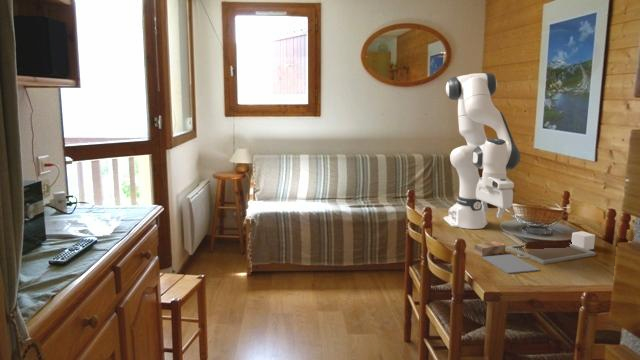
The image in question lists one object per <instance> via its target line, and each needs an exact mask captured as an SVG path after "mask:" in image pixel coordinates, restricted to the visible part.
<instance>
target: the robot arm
mask: <svg viewBox="0 0 640 360" xmlns="http://www.w3.org/2000/svg"><path fill="white" fill-rule="evenodd" d="M497 87H498V81H497V79H496V76H495V74H493V73H492V72H484V73H483V72H482V73H480V72H479V73H469V74H463V75H459V76H453V77H450V78H449V79H447V81H446V85H445V93H446V95H447V97H448V99H449V100H453V101H457V102H458V103H457V119H458V121H457V122H458V132H459V135H460V136H461V137H463V138H464V139H465V141H466V145H461V146H458V147H456V148H454V149H452V151H451V152H450V155H449V160H450V163H451V165H452V167H454V168H455V170H456V172H457V175H458V178H459V179H458V180H459V193H458V194H459V195H457V196H456V203H455V204H453V205H452V206H451V207H449V209H448V211H447V212H448V215H446V216H444V217H443V220H444V221H445V222H447V223H448V225H449V226H450V227H454V228H461V229H468V230H469V229H470V230H473V229H474V230H477V229H478V230H480V229H483V228H485V227H486V226H487V225H488V224H489V223H488V221H487V217H486V213H489V209H490V208H489V206H488V204H490V205H493V206H495V207H497V212H496V213H495V217H496V218H497V219H502V218H503V214H504V211H505V210H506V209H507V210H508V209H511V208H512V206H513V202H514V201H513V200H514V191H513V189H514V188H515V183H514V182H513V181H512V180H511V179H510V178H509V177H508V176H507V170H510V171H511V170H514V169H515V168H516V167H517V166H518V165H519V164H520V162H521V152H520V150H519V148H518V147H517V145H516V143H515V141H514V139H513V136H512V133H511V130H510V128H509V125H508V123H507V121H506V118H505V116H504V114H503V112H502V111H501V110H499V109H498V108H497V107H496V106H495V105H494V103H493V101H492V97H491V96H493V95H494V94H495V93H496V91H497ZM485 126H487V127H490V128H491V129H493V130H494V131H495V132H496V136H497V137H495V138H494V137H491V138H488V137H487V135H486V132H485ZM479 169H481V170H482V176H481V177H480V174H479Z"/></svg>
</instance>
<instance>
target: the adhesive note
mask: <svg viewBox="0 0 640 360" xmlns="http://www.w3.org/2000/svg"><path fill="white" fill-rule="evenodd" d="M571 242H572V245H575V246H578V247H581V248H584V249H587V250H590V251H591V250H595V242H596V235H595V234H594V233H590V232H586V231H583V230H582V231H581V230H580V231H574V232H572V233H571ZM571 242H570V243H571Z"/></svg>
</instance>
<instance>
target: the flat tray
mask: <svg viewBox="0 0 640 360" xmlns="http://www.w3.org/2000/svg"><path fill="white" fill-rule="evenodd" d="M525 244H526V243H523V244H522V243H521V244H516V245H507V246H506V250H508V249H509V250H508V251H510V250H511V252H513V251H514V252H513V253H515V252H516V253H515V254H517V253H518V254H517V255H516V257H518V258H520V257H522V258H521V259H528V258H530V259H529V260H532V261H534V260H535V261H534V262H536V261H537V263H539V264H542V265H546V264H553V263H558V262H564V261H571V260H577V259H581V258H586V257H594V256H597V252H595V251H592V250H591V249H590V250H587V249H584V248H581V247H578V246H575V245H572V244H571V243H569V244H570V245H569V246H570V247H566V248H544V249H530V250H529V249H528V250H529V251H528V250H527V252H528V253H527V252H526V253H525V251H526V250H525V251H524V249H523V248H522V247H524V246H525ZM515 248H517V249H515ZM518 248H519V249H518ZM521 255H522V256H521Z"/></svg>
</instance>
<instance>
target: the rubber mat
mask: <svg viewBox="0 0 640 360" xmlns="http://www.w3.org/2000/svg"><path fill="white" fill-rule="evenodd" d="M481 259H483V261H486V262H487V263H489V264H491V265H493V266H495V268H498V269H499V270H501V271H502V272H503V273H506V274H508V275H511V274H521V273H531V272H539V271H541V269H540V268H538V267H536V266H534V265H532V264H531V263H529V262H527V261H525V260H523V259H522V258H520V257H518V256H517V255H514V254H512V253H510V254H496V255H487V256H481Z"/></svg>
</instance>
